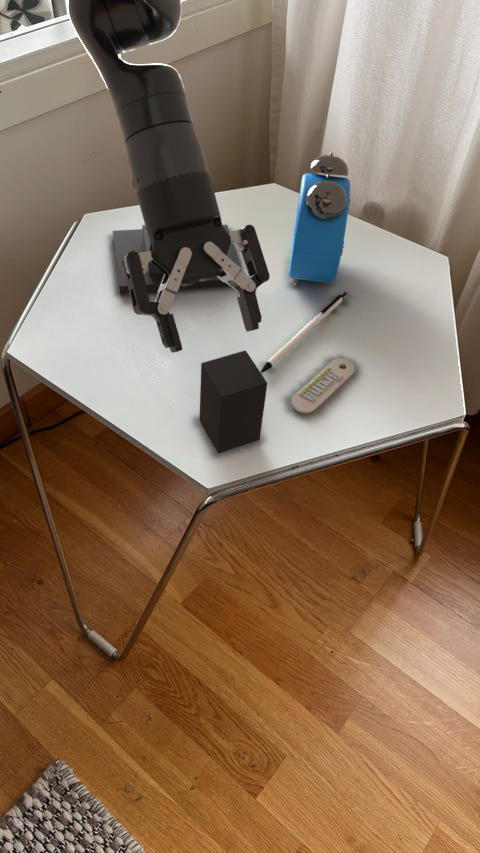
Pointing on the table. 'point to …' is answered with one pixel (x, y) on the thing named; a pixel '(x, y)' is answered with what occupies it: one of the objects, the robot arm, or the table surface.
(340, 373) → the keychain
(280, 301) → the table surface
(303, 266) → the alarm clock
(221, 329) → the table surface
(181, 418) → the table surface
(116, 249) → the base pad
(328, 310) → the pen
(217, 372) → the pad block
